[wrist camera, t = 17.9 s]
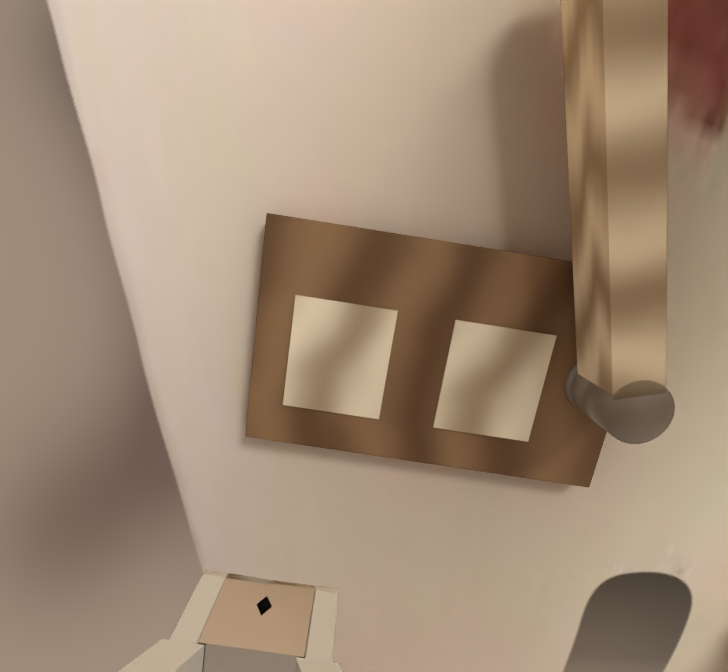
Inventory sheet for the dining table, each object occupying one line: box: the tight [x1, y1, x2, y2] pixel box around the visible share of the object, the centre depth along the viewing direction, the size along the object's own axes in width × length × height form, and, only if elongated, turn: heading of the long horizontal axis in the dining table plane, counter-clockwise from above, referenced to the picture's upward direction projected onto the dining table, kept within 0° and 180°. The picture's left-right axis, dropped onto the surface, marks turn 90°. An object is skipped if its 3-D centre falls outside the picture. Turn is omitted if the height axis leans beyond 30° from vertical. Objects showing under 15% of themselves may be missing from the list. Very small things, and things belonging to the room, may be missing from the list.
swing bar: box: [561, 0, 675, 444], centre depth 23 cm, size 28×4×4 cm, turn 9°
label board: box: [245, 213, 607, 487], centre depth 28 cm, size 26×16×2 cm, turn 81°
